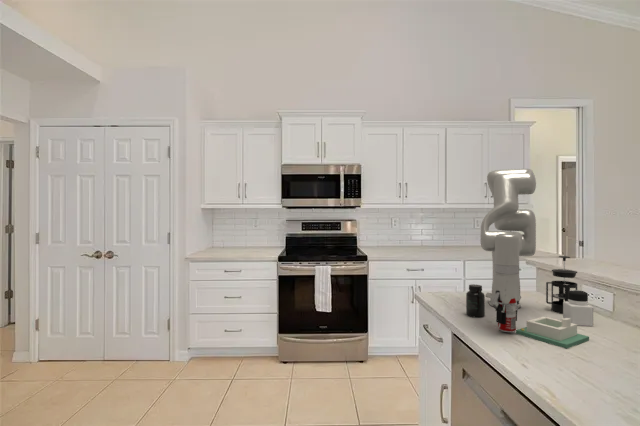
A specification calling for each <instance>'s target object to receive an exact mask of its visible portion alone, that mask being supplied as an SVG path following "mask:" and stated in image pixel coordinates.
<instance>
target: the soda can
mask: <svg viewBox="0 0 640 426" xmlns="http://www.w3.org/2000/svg"><path fill="white" fill-rule="evenodd" d="M500 302H501V303H502V301H500ZM500 306H501V307H502V305H501V304H500ZM516 310H517V309H516V300H515V297H514V298H511V300H510V302H509V303H508V304H506V308H505V313H506V324H501V323H497V329H498V330H500V331H501V332H505V333H514V332H516V330H517V321H516Z"/></svg>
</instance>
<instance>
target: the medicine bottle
mask: <svg viewBox="0 0 640 426" xmlns="http://www.w3.org/2000/svg"><path fill="white" fill-rule="evenodd" d="M568 301H569V302H567V301H565V300H564V302H563V314H562V319H564V318H570V319H571V323H573V324H577V326H581V327H593V326H594V306H592V305H589V304H588V303H589V302H588V301H589V294H588V292H586V291H584V290H579V289H577V290H576V289H570V291H568Z"/></svg>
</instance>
